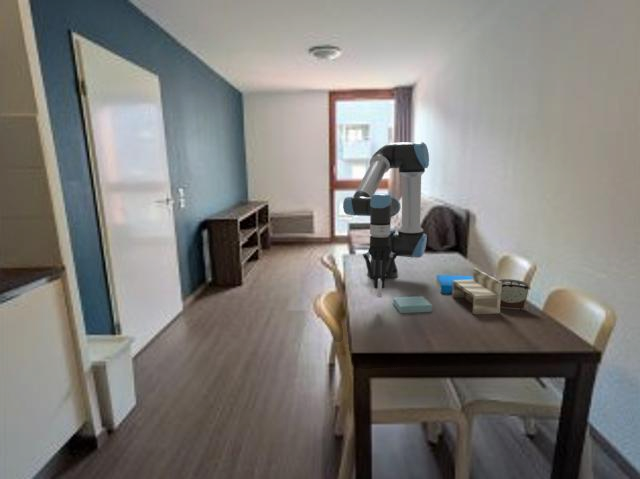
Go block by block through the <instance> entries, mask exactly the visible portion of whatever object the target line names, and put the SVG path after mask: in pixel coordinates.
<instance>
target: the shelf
mask: <svg viewBox="0 0 640 479" xmlns="http://www.w3.org/2000/svg"><path fill="white" fill-rule="evenodd" d="M472 276H473V279H471V280H453V287H452V293H451V297H452V298H453V299H460V298H464V299H465V300H466V301H468V302H469V303H471V304H472V314H473V315H488V314H489V315H490V314H500V313H501V312H500V311H501V308H500V302H501V289H502V282H501V281H499V280H500V279H497V278H495V277H493V276H492V275H490V274H488V273H486V272H484V271H482V270H480V269H478V268H477V267H474V268H472Z"/></svg>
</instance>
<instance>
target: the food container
mask: <svg viewBox="0 0 640 479" xmlns="http://www.w3.org/2000/svg"><path fill="white" fill-rule="evenodd" d="M498 280H499V281H501V282H502V289H501V302H500V309H501V308H502V309H511V310H520V309H522V311H525V307H526V301H527V298H528V292H529V291H531V287H530V284H529V283H527V282H525V281H522V280H518V279H511V278H510V279H508V278H504V279H503V278H502V279H498Z"/></svg>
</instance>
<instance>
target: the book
mask: <svg viewBox="0 0 640 479" xmlns="http://www.w3.org/2000/svg"><path fill="white" fill-rule="evenodd" d="M471 279H473V275H454V274H453V275H452V274H451V275H449V274H436V285H437V288H438V290H439V292H440V294H452V287H453V280H471Z"/></svg>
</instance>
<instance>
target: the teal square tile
mask: <svg viewBox="0 0 640 479" xmlns="http://www.w3.org/2000/svg"><path fill="white" fill-rule="evenodd" d="M392 301H393V302H392V303H393V306H394V307H395V308H396V309H397V311H398V312H399V313H400V314H408V313H430V312H432V309H433V306H432V303H431V302H429V301H428V300H427V299H426V298H425V297H424V296H422V295H420V296H402V297H401V296H400V297H393V299H392Z"/></svg>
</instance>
